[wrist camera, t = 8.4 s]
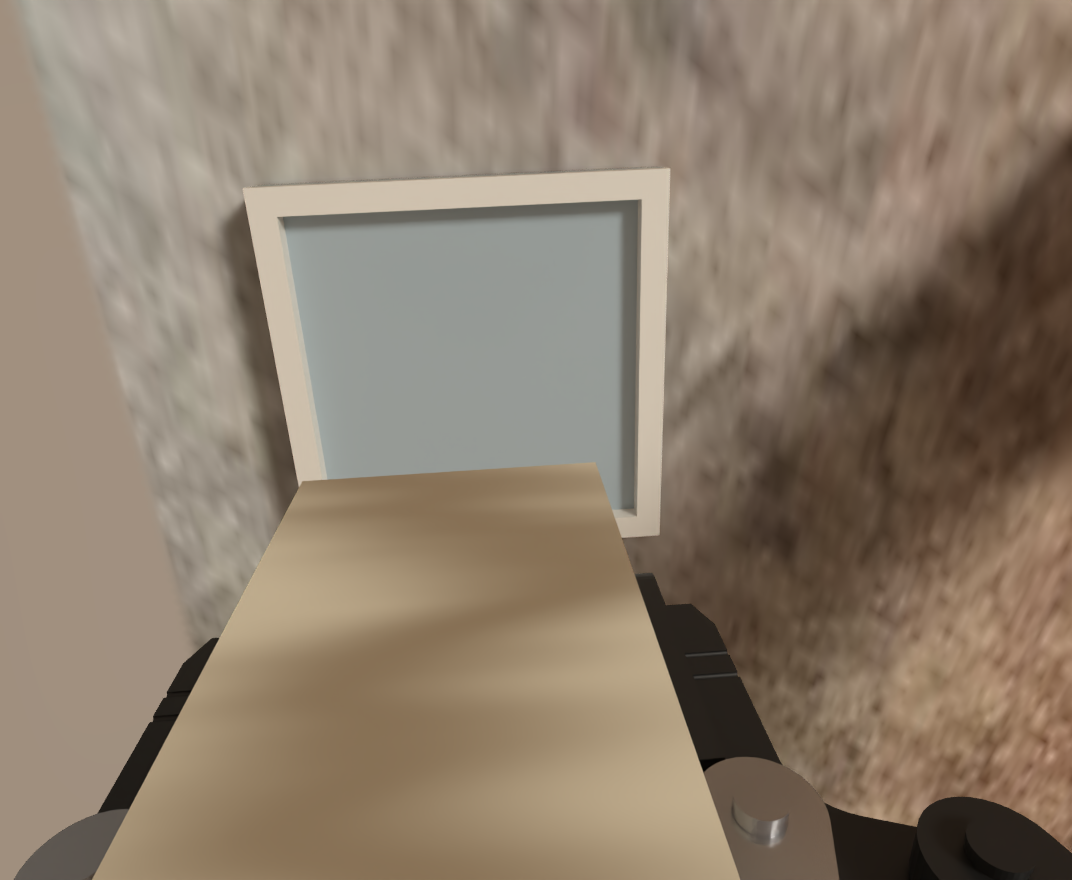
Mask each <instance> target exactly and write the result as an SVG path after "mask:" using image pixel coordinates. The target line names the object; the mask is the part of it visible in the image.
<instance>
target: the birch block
mask: <svg viewBox="0 0 1072 880" xmlns="http://www.w3.org/2000/svg"><path fill="white" fill-rule="evenodd" d="M92 880H740V877H739V874H738V871H737V868H736V865H735V863H734V860H733V857H732V854H731V851H730V848H729V845H728V842H727V840H726V837H725V834H724V831H723V828H722V825H721V822H720V819H719V816H718V814H717V811H716V808H715V805H714V802H713V799H712V796H711V793H710V791H709V788H708V785H707V782H706V779H705V776H704V773H703V770H702V768H701V765H700V762H699V759H698V756H697V753H696V750H695V747H694V744H693V742H692V739H691V736H690V733H689V730H688V727H687V724H686V721H685V719H684V716H683V713H682V710H681V707H680V704H679V701H678V698H677V695H676V693H675V690H674V687H673V684H672V681H671V678H670V675H669V672H668V670H667V667H666V664H665V661H664V658H663V655H662V652H661V649H660V647H659V644H658V641H657V638H656V635H655V632H654V629H653V626H652V623H651V621H650V618H649V615H648V612H647V609H646V606H645V603H644V600H643V598H642V595H641V592H640V589H639V586H638V583H637V580H636V577H635V575H634V572H633V569H632V566H631V563H630V560H629V557H628V554H627V551H626V549H625V546H624V543H623V540H622V537H621V534H620V531H619V528H618V526H617V523H616V520H615V517H614V514H613V511H612V508H611V505H610V503H609V500H608V497H607V494H606V491H605V488H604V485H603V482H602V479H601V477H600V474H599V471H598V468H597V465H596V462H590V463H575V464H560V465H544V466H529V467H513V468H498V469H482V470H467V471H452V472H436V473H421V474H405V475H390V476H375V477H359V478H344V479H328V480H313V481H302V483H301V485H300V487H299V489H298V491H297V492H296V494H295V496H294V498H293V500H292V502H291V504H290V506H289V508H288V509H287V511H286V513H285V515H284V517H283V519H282V521H281V523H280V525H279V527H278V528H277V530H276V532H275V534H274V536H273V538H272V540H271V542H270V544H269V545H268V547H267V549H266V551H265V553H264V555H263V557H262V559H261V561H260V563H259V564H258V566H257V568H256V570H255V572H254V574H253V576H252V578H251V580H250V581H249V583H248V585H247V587H246V589H245V591H244V593H243V595H242V597H241V599H240V600H239V602H238V604H237V606H236V608H235V610H234V612H233V614H232V616H231V617H230V619H229V621H228V623H227V625H226V627H225V629H224V631H223V633H222V635H221V636H220V638H219V640H218V642H217V644H216V646H215V648H214V650H213V652H212V653H211V655H210V657H209V659H208V661H207V663H206V665H205V667H204V669H203V670H202V672H201V674H200V676H199V678H198V680H197V682H196V684H195V686H194V688H193V689H192V691H191V693H190V695H189V697H188V699H187V701H186V703H185V705H184V706H183V708H182V710H181V712H180V714H179V716H178V718H177V720H176V722H175V724H174V725H173V727H172V729H171V731H170V733H169V735H168V737H167V739H166V741H165V742H164V744H163V746H162V748H161V750H160V752H159V754H158V756H157V758H156V760H155V761H154V763H153V765H152V767H151V769H150V771H149V773H148V775H147V777H146V778H145V780H144V782H143V784H142V786H141V788H140V790H139V792H138V794H137V796H136V797H135V799H134V801H133V803H132V805H131V807H130V809H129V811H128V813H127V814H126V816H125V818H124V820H123V822H122V824H121V826H120V828H119V830H118V832H117V833H116V835H115V837H114V839H113V841H112V843H111V845H110V847H109V849H108V850H107V852H106V854H105V856H104V858H103V860H102V862H101V864H100V866H99V868H98V869H97V871H96V873H95V875H94V877H93V879H92Z"/></svg>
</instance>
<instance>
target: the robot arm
mask: <svg viewBox="0 0 1072 880" xmlns="http://www.w3.org/2000/svg"><path fill="white" fill-rule="evenodd" d="M634 575H635V577H636V580H637V583H638V586H639V589H640V592H641V595H642V598H643V600H644V603H645V606H646V609H647V612H648V615H649V618H650V621H651V623H652V626H653V629H654V632H655V635H656V638H657V641H658V644H659V647H660V649H661V652H662V655H663V658H664V661H665V664H666V667H667V670H668V672H669V675H670V678H671V681H672V684H673V687H674V690H675V693H676V695H677V698H678V701H679V704H680V707H681V710H682V713H683V716H684V719H685V721H686V724H687V727H688V730H689V733H690V736H691V739H692V742H693V744H694V747H695V750H696V753H697V756H698V759H699V762H700V765H701V768H702V770H703V773H704V776H705V779H706V782H707V785H708V788H709V791H710V793H711V796H712V799H713V802H714V805H715V808H716V811H717V814H718V816H719V819H720V822H721V825H722V828H723V831H724V834H725V837H726V840H727V842H728V845H729V848H730V851H731V854H732V857H733V860H734V863H735V865H736V868H737V871H738V874H739V877H740V880H1072V853H1071V852H1070V851H1068V850H1067V849H1066V848H1065V847H1064V846H1063V845H1061V844H1060V843H1059V842H1058V841H1057V840H1056V839H1054V838H1053V837H1052V836H1051V835H1050V834H1049V833H1047V832H1046V831H1045V830H1043V829H1042V828H1041V827H1040V826H1038V825H1037V824H1036V823H1034V822H1032V821H1031V820H1029V819H1028V818H1026V817H1025V816H1023V815H1021V814H1019V813H1017V812H1015V811H1013V810H1011V809H1009V808H1007V807H1004V806H1002V805H999V804H997V803H994V802H990V801H987V800H983V799H977V798H971V797H951V798H945V799H942V800H938V801H936V802H934V803H933V804H931V805H929V806H928V807H927V808H926V809H925V810H924V811H923V813H922V814H921V816H920V818H919V821H918V825H917V827H914V826H909V825H904V824H899V823H893V822H888V821H883V820H878V819H873V818H868V817H863V816H859V815H855V814H851V813H847V812H845V811H842V810H839V809H837V808H834V807H832V806H830V805H828V804H826V803H824V801H823V800H822V798H821V797H820V795H819V794H818V792H817V791H816V790H815V789H814V788H813V787H812V786H811V785H810V783H808V782H807V781H806V780H805V779H804V778H803V777H801V776H800V775H799V774H797V773H795V772H794V771H792V770H791V769H789V768H787V767H785V766H783V765H782V764H781V762H780V760H779V758H778V756H777V754H776V752H775V750H774V748H773V746H772V743H771V741H770V739H769V737H768V735H767V733H766V731H765V729H764V727H763V725H762V722H761V720H760V718H759V716H758V714H757V712H756V710H755V708H754V706H753V704H752V701H751V699H750V697H749V695H748V693H747V691H746V689H745V687H744V685H743V683H742V680H741V678H740V677H738V675H737V670H736V668H735V666H734V664H733V662H732V659H731V657H730V655H728V654H727V649H726V647H725V645H724V643H723V641H722V638H721V636H720V634H719V632H718V630H717V628H716V626H715V624H714V623H713V622H711V621H710V620H709V619H708V618H707V617H705V616H704V615H703V614H702V613H701V612H700V611H698V610H697V609H696V608H695V607H694V606H693V605H691V604H681V605H667V606H666V605H665V602H664V600H663V597H662V595H661V592H660V590H659V587H658V585H657V582H656V579H655V577H654V575H653V574H652V573H642V574H634ZM218 640H219V638H212V639H210V640H209V641H208V642H207V643H206V644H205V645H204V646H203V647H201V648H200V649H199V650H198V651H197V652H196V653H195V654H194V655H192V656H191V657H190V658H189V659H188V660H187V661H186V662H185V663H183V665H182V667H181V668H180V670H179V672H178V674H177V676H176V677H175V679H174V681H173V682H172V684H171V686H170V688H169V689H168V691H167V698H163V700H162V702H161V703H160V705H159V707H158V709H157V710H156V712H155V714H154V716H153V722H150V723H149V724H148V726H147V728H146V730H145V731H144V733H143V735H142V737H141V738H140V740H139V742H138V744H137V745H136V747H135V749H134V751H133V753H132V754H131V756H130V758H129V759H128V761H127V763H126V765H125V766H124V768H123V770H122V772H121V773H120V775H119V777H118V779H117V780H116V782H115V784H114V786H113V787H112V789H111V791H110V793H109V794H108V796H107V798H106V800H105V802H104V803H103V805H102V807H101V809H100V810H99V812H98V814H96V815H93V816H90V817H87V818H85V819H83V820H81V821H79V822H77V823H74V824H72V825H71V826H69V827H67V828H66V829H64V830H62V831H61V832H59V833H58V834H56V835H55V836H54V837H52V838H51V839H49V840H48V841H47V842H46V843H45V844H43V845H42V846H41V847H40V848H39V849H38V850H37V851H36V852H35V853H34V854H33V855H32V856H31V857H30V858H29V859H28V860H27V861H26V863H25V864H24V865H23V866H22V868H21V869H20V870H19V872H18V874H17V875H16V877H15V878H14V880H92V879H93V877H94V875H95V873H96V871H97V869H98V868H99V866H100V864H101V862H102V860H103V858H104V856H105V854H106V852H107V850H108V849H109V847H110V845H111V843H112V841H113V839H114V837H115V835H116V833H117V832H118V830H119V828H120V826H121V824H122V822H123V820H124V818H125V816H126V814H127V813H128V811H129V809H130V807H131V805H132V803H133V801H134V799H135V797H136V796H137V794H138V792H139V790H140V788H141V786H142V784H143V782H144V780H145V778H146V777H147V775H148V773H149V771H150V769H151V767H152V765H153V763H154V761H155V760H156V758H157V756H158V754H159V752H160V750H161V748H162V746H163V744H164V742H165V741H166V739H167V737H168V735H169V733H170V731H171V729H172V727H173V725H174V724H175V722H176V720H177V718H178V716H179V714H180V712H181V710H182V708H183V706H184V705H185V703H186V701H187V699H188V697H189V695H190V693H191V691H192V689H193V688H194V686H195V684H196V682H197V680H198V678H199V676H200V674H201V672H202V670H203V669H204V667H205V665H206V663H207V661H208V659H209V657H210V655H211V653H212V652H213V650H214V648H215V646H216V644H217V642H218Z"/></svg>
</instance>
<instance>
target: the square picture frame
mask: <svg viewBox="0 0 1072 880" xmlns="http://www.w3.org/2000/svg"><path fill="white" fill-rule="evenodd" d="M243 193H244V199H245V204H246V209H247V215H248V220H249V225H250V231H251V236H252V241H253V247H254V252H255V257H256V262H257V268H258V273H259V278H260V284H261V289H262V294H263V300H264V305H265V310H266V316H267V321H268V326H269V331H270V337H271V342H272V347H273V353H274V358H275V363H276V369H277V374H278V379H279V385H280V390H281V395H282V400H283V406H284V411H285V416H286V422H287V427H288V432H289V438H290V443H291V448H292V454H293V459H294V464H295V469H296V475H297V480H298V485H299V487H300V485H301V483H302V481H313V480H328V479H344V478H359V477H375V476H390V475H405V474H421V473H436V472H452V471H467V470H482V469H498V468H513V467H529V466H544V465H560V464H575V463H590V462H596V465H597V468H598V471H599V474H600V477H601V479H602V482H603V485H604V488H605V491H606V494H607V497H608V500H609V503H610V505H611V508H612V511H613V514H614V517H615V520H616V523H617V526H618V528H619V531H620V534H621V537H622V538H626V537H641V536H656V535H659V534H660V500H661V466H662V433H663V399H664V365H665V331H666V297H667V263H668V229H669V195H670V168H664V167H636V168H615V169H593V170H572V171H550V172H529V173H507V174H485V175H464V176H442V177H421V178H399V179H378V180H356V181H335V182H313V183H291V184H270V185H257V186H252V187H247V188H243Z"/></svg>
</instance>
